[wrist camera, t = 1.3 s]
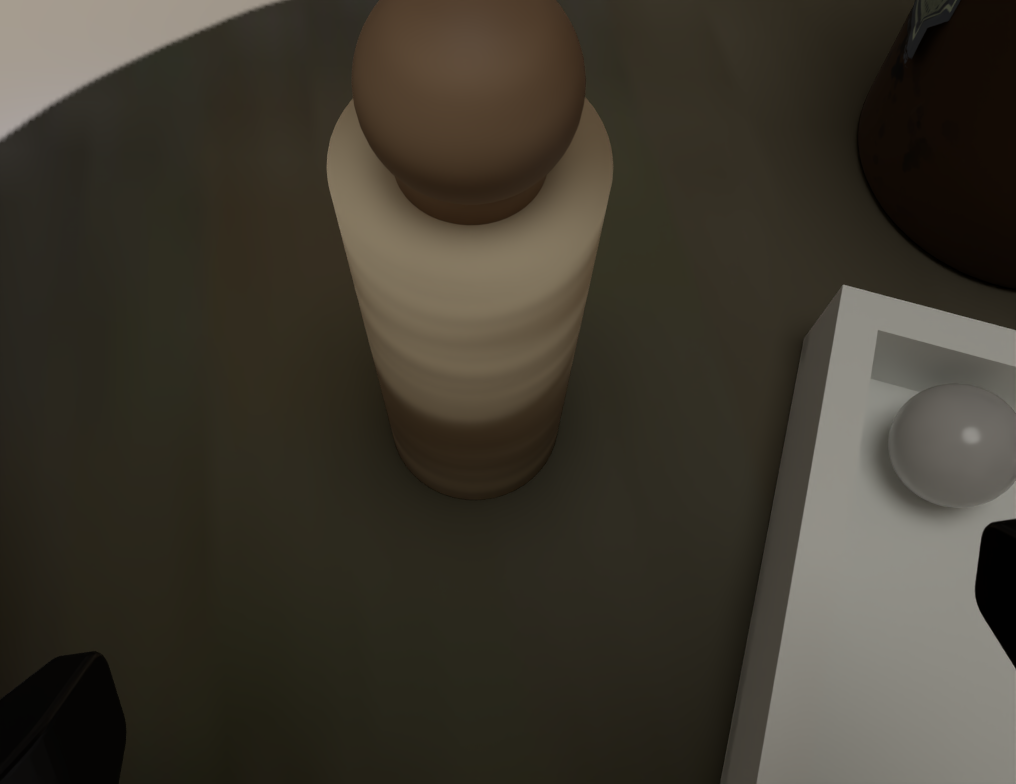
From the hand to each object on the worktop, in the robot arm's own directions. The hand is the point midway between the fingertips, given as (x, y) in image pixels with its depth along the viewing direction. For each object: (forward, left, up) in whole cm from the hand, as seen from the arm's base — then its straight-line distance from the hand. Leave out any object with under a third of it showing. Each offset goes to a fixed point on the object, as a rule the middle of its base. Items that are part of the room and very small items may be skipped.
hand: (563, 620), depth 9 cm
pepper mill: (+7, +3, -13) cm, 15 cm away
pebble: (+9, -8, -12) cm, 17 cm away
